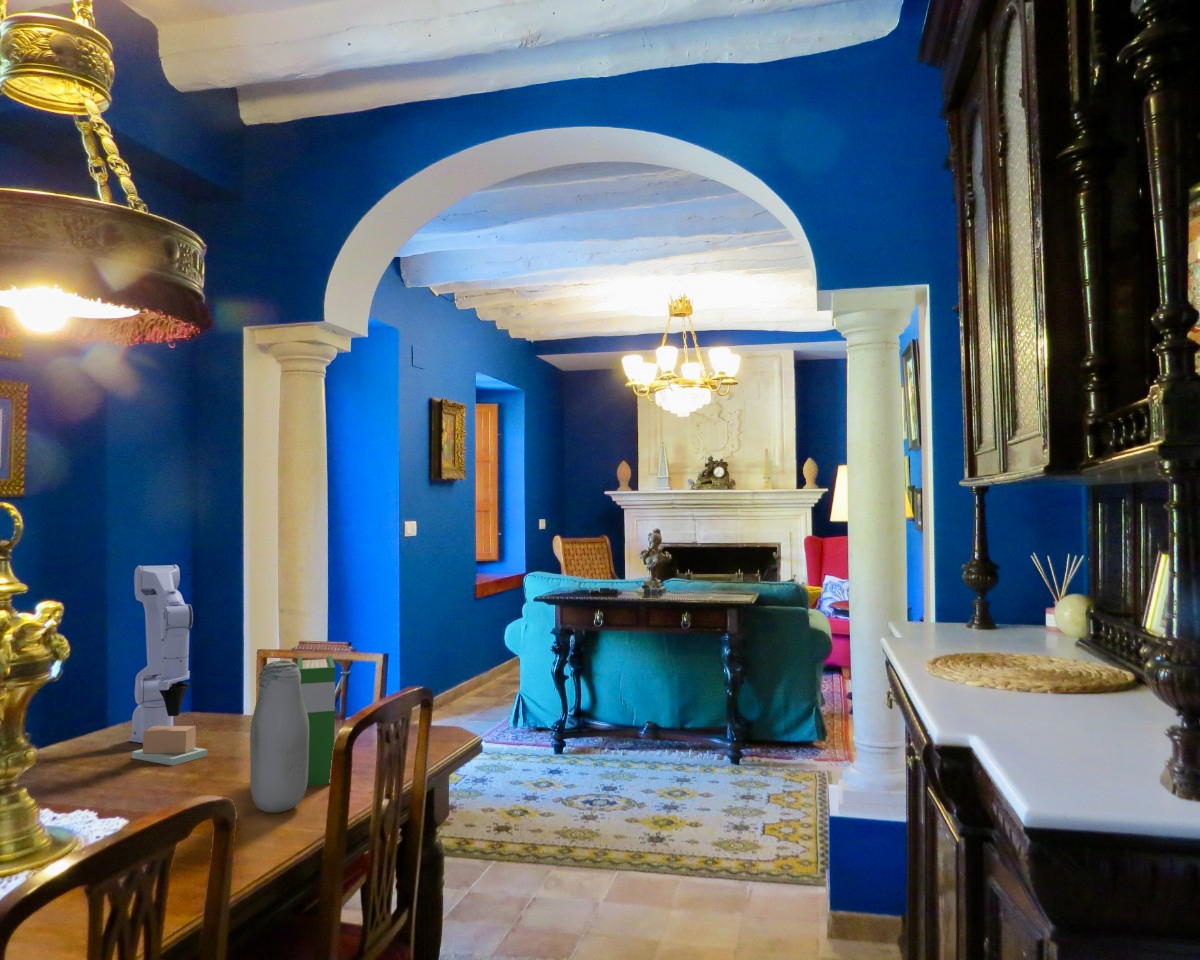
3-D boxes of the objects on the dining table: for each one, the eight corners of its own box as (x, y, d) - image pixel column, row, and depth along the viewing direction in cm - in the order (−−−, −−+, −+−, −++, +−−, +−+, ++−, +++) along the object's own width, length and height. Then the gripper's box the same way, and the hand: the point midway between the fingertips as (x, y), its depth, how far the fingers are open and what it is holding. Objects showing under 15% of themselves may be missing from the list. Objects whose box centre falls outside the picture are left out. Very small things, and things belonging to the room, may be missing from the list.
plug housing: (142, 753, 196) (143, 731, 196) (153, 747, 201) (153, 726, 201) (185, 752, 196) (186, 730, 196) (195, 747, 201) (195, 725, 201)
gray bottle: (276, 799, 167) (279, 655, 169) (318, 805, 164) (320, 658, 165) (237, 815, 158) (240, 663, 160) (280, 822, 154) (283, 666, 156)
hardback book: (295, 764, 192) (297, 657, 193) (330, 761, 195) (331, 655, 196) (296, 787, 176) (298, 669, 177) (333, 783, 178) (335, 667, 179)
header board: (132, 758, 198) (132, 738, 198) (167, 749, 206) (167, 730, 206) (172, 765, 191) (173, 745, 192) (207, 756, 199) (207, 736, 200)
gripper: (168, 652, 207) (167, 709, 206) (144, 662, 193) (143, 723, 192) (199, 652, 208) (197, 708, 207) (177, 661, 194) (176, 722, 193)
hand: (173, 715), depth 200 cm, fingers closed
